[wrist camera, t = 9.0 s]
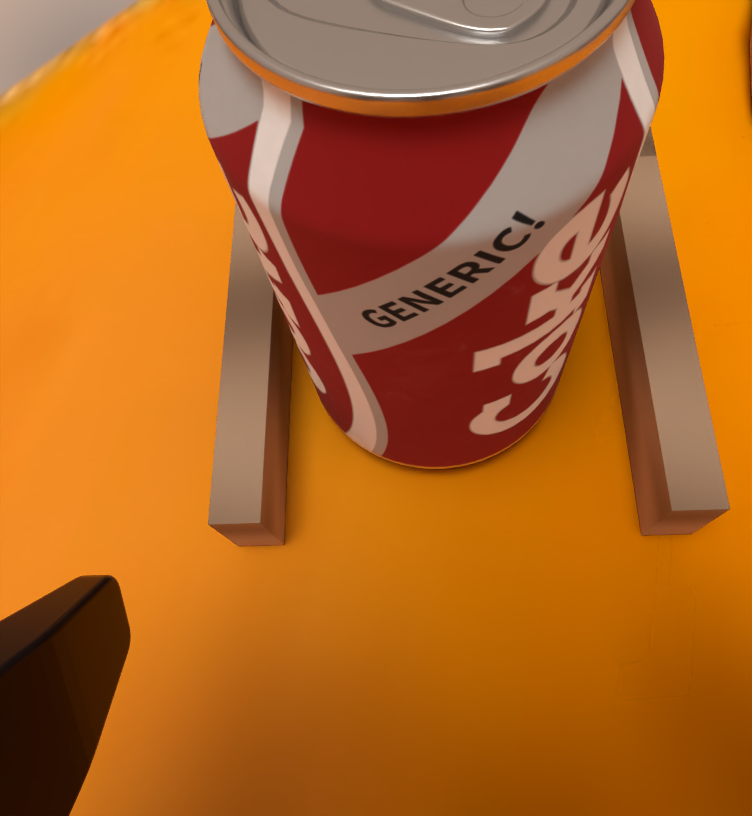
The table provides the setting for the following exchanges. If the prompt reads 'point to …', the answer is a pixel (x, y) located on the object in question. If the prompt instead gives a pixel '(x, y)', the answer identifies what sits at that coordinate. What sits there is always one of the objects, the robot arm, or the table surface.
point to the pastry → (751, 56)
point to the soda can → (431, 195)
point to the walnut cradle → (633, 355)
